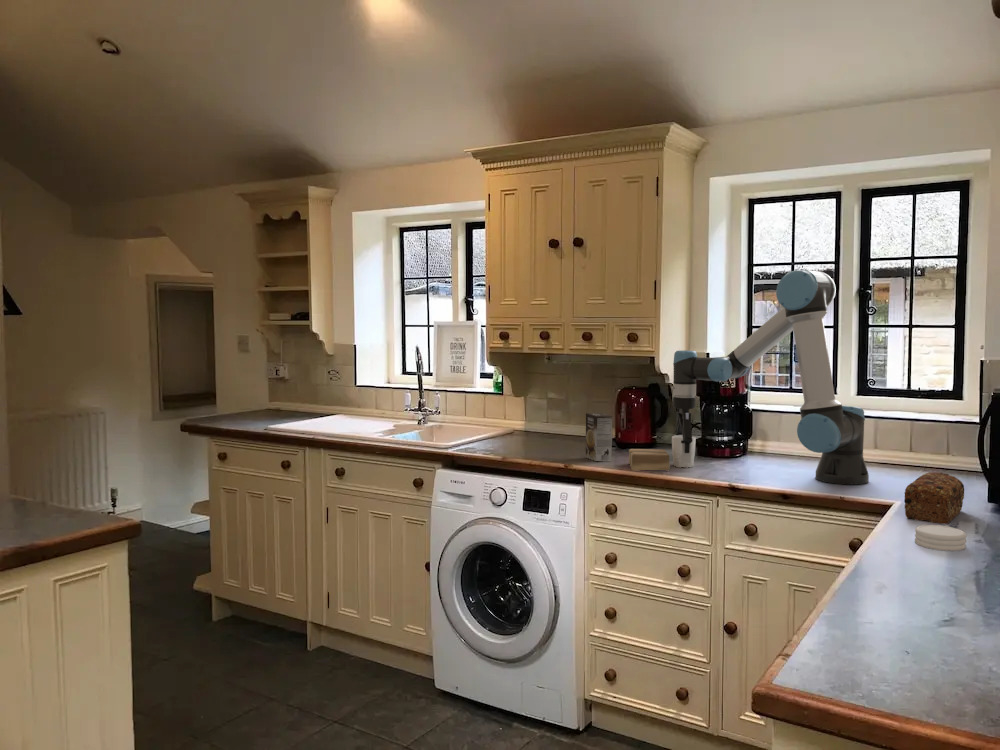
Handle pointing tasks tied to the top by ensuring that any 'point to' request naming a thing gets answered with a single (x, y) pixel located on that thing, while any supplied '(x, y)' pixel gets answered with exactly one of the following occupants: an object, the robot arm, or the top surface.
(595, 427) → the coffee box
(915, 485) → the bread
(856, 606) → the top surface
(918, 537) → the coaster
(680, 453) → the white cup
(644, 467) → the oak block
